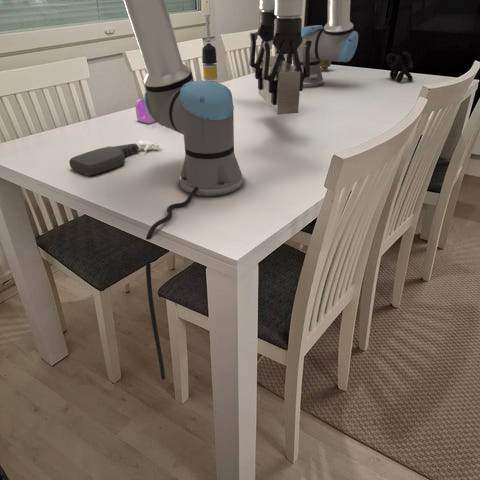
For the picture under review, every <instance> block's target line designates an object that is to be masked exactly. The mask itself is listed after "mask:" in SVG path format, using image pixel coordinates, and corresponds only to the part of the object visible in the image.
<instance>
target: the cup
mask: <svg viewBox="0 0 480 480" xmlns="http://www.w3.org/2000/svg"><path fill="white" fill-rule="evenodd" d="M332 63H333V61H327V60H320V68H321V72H327V71H328V70H329V67H331V65H332Z"/></svg>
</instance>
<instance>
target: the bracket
mask: <svg viewBox="0 0 480 480" xmlns="http://www.w3.org/2000/svg"><path fill="white" fill-rule="evenodd" d="M134 105H135V113H136V120H137V122H141V123H144V124H152V123H155V122H156V121H155V120H154V119H153V118H152V117H151V116H150V115H149V114H148V112H147V110H146V107H145V103H144V99H141V98H138V99H137V100H136V101H135V104H134Z"/></svg>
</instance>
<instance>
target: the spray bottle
mask: <svg viewBox="0 0 480 480" xmlns="http://www.w3.org/2000/svg"><path fill="white" fill-rule="evenodd" d="M159 148H160V145H159V144H158V143H155V142H151V141H148V140H144V139H139V140H138V141H137V142H135V143H129V144H128V143H126V144H122V145H113V146H105V147H100V148H97V149H94V150H90V151H87V152H83V153H81V154H78V155H74V156H73V157H70V159H69V161H68V162H69V167H70V168H71V169H72V170H74V171H75V172H78V173H81V174H83V175H85V176H89V177H90V176H91V177H92V176H95V175H99V174H102V173H105V172H107V171H110V170H113V169H116V168H118V167H120V166H122V165H123V164H124V163H125V158H126V156H127V155H131V154H133V153H138V151H140V150H143V151H144V152H146V151H147V150H149V149H159Z"/></svg>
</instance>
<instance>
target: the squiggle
mask: <svg viewBox="0 0 480 480" xmlns="http://www.w3.org/2000/svg"><path fill="white" fill-rule="evenodd" d="M401 57H402V59H401ZM391 59H392V60H391ZM393 60H394V61H393ZM385 61H386V64H387V67H390V68H391V70H390V72H389V78H390V79H391V80H395V79H396V81H397V82H399V83H400V82H402V81H403V79H404V76H406V78H407V80H408V81H412V80H413V79H414V77H413V75H412V74H411V73H410V72H409V71H410V70H412V69H413V68H414V64H413V61H412V57H411V54H410V53H409V52H408V51H403V53H402V54H401V55H396V54H394V53H392V52H390V53H387V55H386V57H385ZM406 62H407V65H408V66H407V67H405V66H404V65H405V64H406ZM400 70H401V71H400Z"/></svg>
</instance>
